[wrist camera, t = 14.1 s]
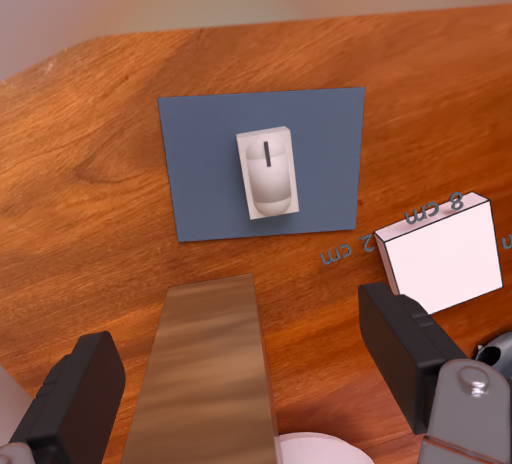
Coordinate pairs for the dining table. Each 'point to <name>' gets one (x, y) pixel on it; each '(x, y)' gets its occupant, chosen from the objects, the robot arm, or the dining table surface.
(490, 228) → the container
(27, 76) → the dining table surface
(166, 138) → the mouse pad
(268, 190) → the white boxy piece
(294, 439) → the bowl
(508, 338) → the electronic device
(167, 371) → the block
